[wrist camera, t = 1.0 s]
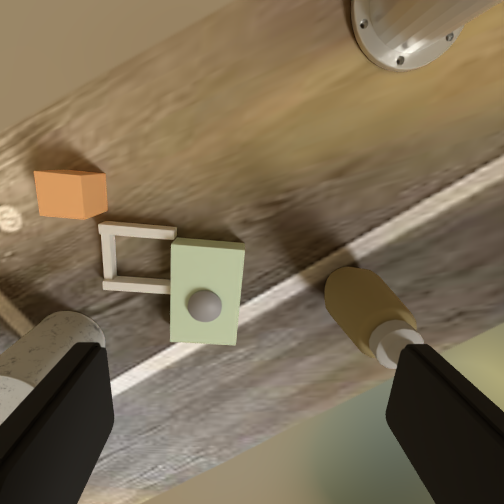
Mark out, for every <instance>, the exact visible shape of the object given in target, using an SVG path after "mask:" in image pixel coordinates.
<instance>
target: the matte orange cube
mask: <svg viewBox="0 0 504 504" xmlns="http://www.w3.org/2000/svg"><path fill="white" fill-rule="evenodd" d="M34 177H35V184H36V191H37V198H38V205H39V212H40V216H50V217H61V218H73V219H84V220H85V219H87V218H90V217H93V216H95V215H98V214H101V213H104V212H106V211H108V206H107V190H106V174H105V173H96V172H86V171H75V170H45V171H34Z"/></svg>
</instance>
